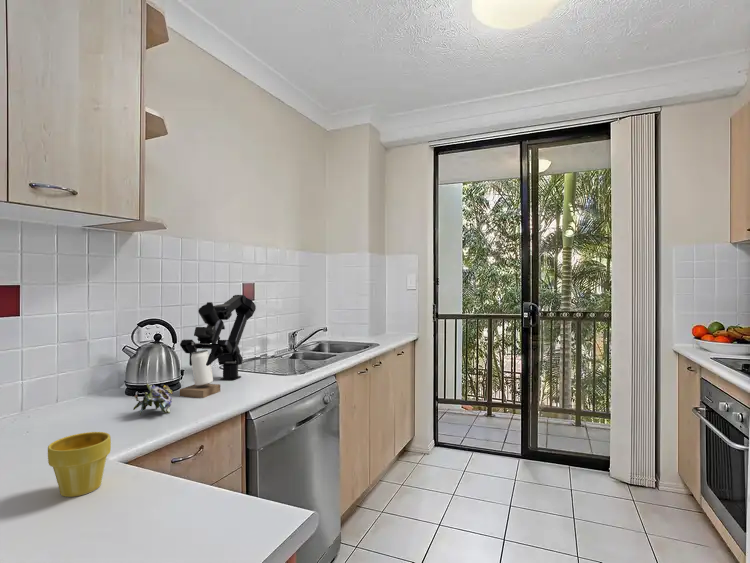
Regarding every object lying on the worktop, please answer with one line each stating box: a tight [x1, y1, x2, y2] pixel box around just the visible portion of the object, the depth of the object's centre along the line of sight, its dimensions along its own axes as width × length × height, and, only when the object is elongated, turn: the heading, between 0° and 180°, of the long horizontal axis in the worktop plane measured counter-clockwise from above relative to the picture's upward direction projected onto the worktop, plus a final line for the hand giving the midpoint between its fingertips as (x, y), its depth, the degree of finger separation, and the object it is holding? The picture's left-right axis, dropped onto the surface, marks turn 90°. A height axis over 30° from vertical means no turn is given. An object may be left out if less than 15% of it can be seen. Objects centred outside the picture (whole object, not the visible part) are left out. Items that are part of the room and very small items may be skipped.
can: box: [191, 349, 214, 386], centre depth 160 cm, size 6×6×12 cm
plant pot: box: [47, 431, 112, 498], centre depth 86 cm, size 10×10×10 cm
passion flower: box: [133, 383, 174, 416], centre depth 136 cm, size 11×11×12 cm
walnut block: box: [179, 383, 221, 399], centre depth 160 cm, size 10×10×3 cm
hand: (198, 365), depth 159 cm, fingers closed on can, 6 cm apart
